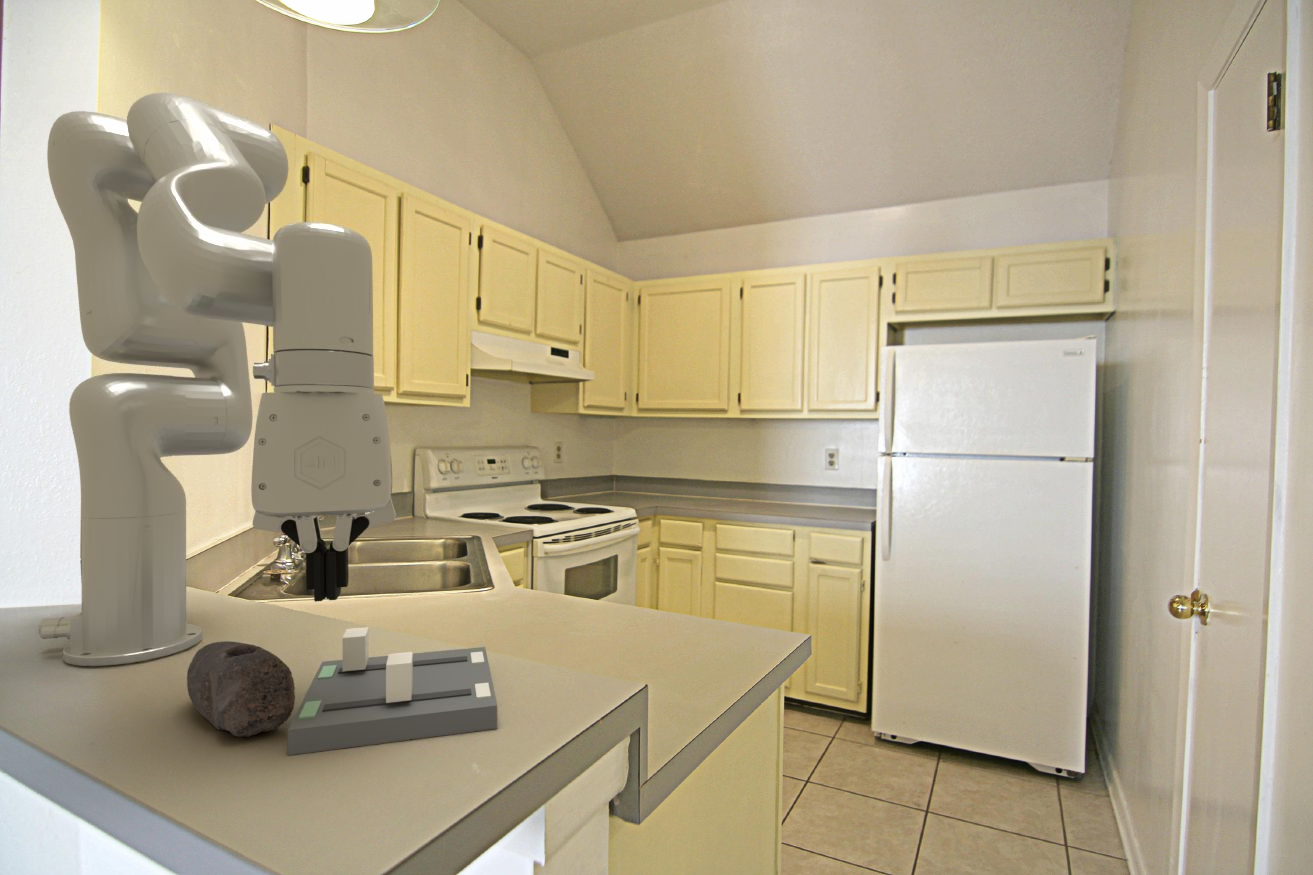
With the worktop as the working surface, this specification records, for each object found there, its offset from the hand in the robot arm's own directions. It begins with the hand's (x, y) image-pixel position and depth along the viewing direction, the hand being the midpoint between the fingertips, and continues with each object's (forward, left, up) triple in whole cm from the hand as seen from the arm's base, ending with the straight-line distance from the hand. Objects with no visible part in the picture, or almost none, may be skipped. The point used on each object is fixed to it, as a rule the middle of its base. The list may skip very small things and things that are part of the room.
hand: (328, 596), depth 56 cm
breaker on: (+1, +9, -9) cm, 13 cm away
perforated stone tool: (-8, +6, -12) cm, 16 cm away
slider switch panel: (+6, +5, -12) cm, 14 cm away
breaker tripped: (+6, 0, -9) cm, 11 cm away
